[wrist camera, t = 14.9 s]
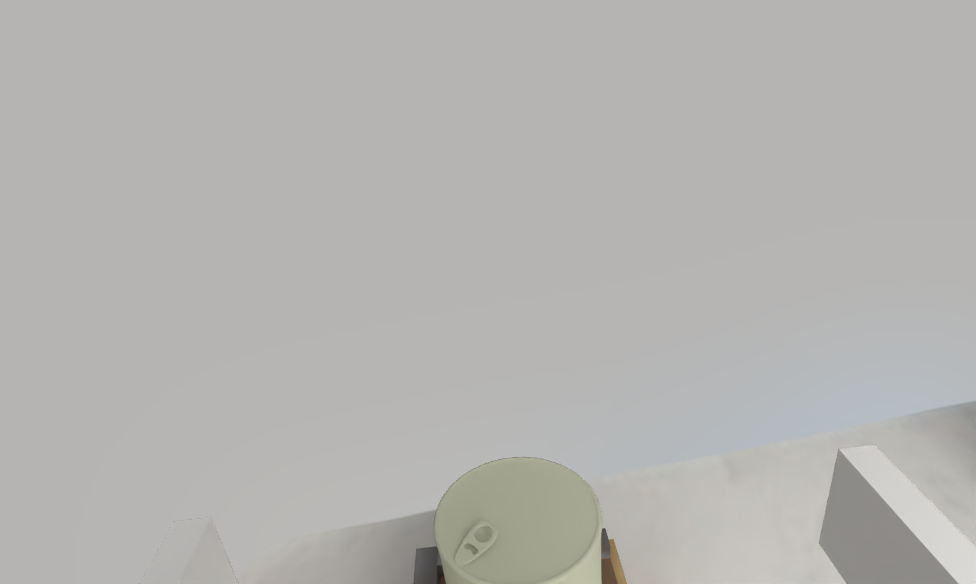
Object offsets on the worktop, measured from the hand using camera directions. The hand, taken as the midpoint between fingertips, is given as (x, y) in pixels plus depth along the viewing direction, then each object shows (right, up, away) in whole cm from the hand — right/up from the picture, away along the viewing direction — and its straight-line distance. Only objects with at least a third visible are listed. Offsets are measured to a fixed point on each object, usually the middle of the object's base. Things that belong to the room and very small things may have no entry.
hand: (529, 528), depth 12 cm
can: (+2, -18, +24) cm, 30 cm away
